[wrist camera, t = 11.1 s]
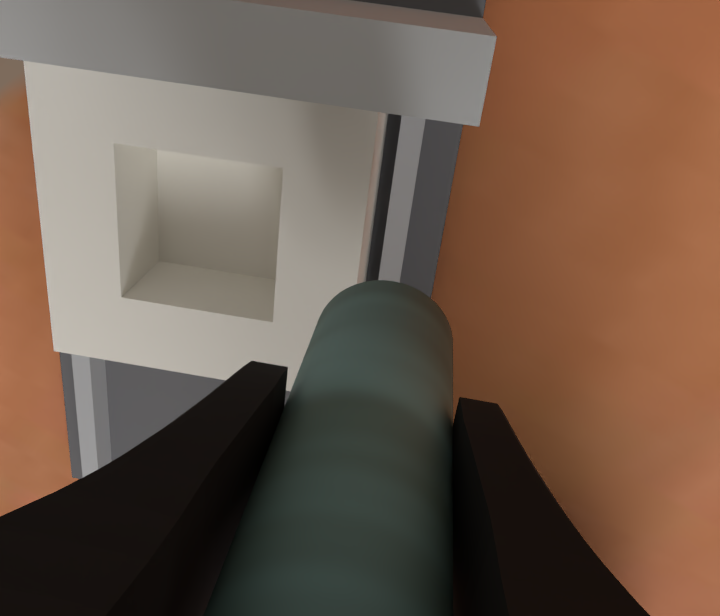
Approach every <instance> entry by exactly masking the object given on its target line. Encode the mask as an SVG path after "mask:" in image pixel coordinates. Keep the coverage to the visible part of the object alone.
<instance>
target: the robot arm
mask: <svg viewBox="0 0 720 616" xmlns="http://www.w3.org/2000/svg"><path fill="white" fill-rule="evenodd" d="M287 372H288V367H285V366H279V365H274V364H268V363H262V362H257V361H250V362H249V363H247V364H246V365H244V366H243V367H242V368H241V369H239V370H238V371H237V372H236V373H234V374H233V375H232V376H231V377H229V378H228V379H227V380H226V381H225V382H223V383H222V384H221V385H220V386H218V387H217V388H216V389H215V390H213V391H212V392H211V393H209V394H208V395H207V396H206V397H204V398H203V399H202V400H201V401H199V402H198V403H197V404H195V405H194V406H193V407H191V408H190V409H188V410H187V411H186V412H184V413H183V414H182V415H180V416H179V417H178V418H176V419H175V420H174V421H172V422H171V423H170V424H168V425H167V426H165V427H164V428H162V429H161V430H160V431H158V432H156V433H155V434H153V435H152V436H150V437H149V438H147V439H146V440H144V441H143V442H141V443H140V444H138V445H137V446H135V447H134V448H132V449H131V450H129V451H128V452H126V453H125V454H123V455H121V456H120V457H118V458H117V459H115V460H113V461H112V462H110V463H108V464H107V465H105V466H103V467H101V468H100V469H98V470H96V471H94V472H92V473H90V474H88V475H87V476H85V477H83V478H81V479H79V480H77V481H75V482H73V483H72V484H70V485H68V486H66V487H64V488H62V489H60V490H58V491H56V492H54V493H52V494H49V495H47V496H45V497H43V498H41V499H38V500H36V501H34V502H32V503H29V504H27V505H25V506H23V507H21V508H18V509H16V510H14V511H12V512H9V513H7V514H5V515H3V516H1V517H0V616H203V615H204V612H205V610H206V607H207V604H208V602H209V599H210V597H211V594H212V592H213V589H214V586H215V584H216V581H217V579H218V576H219V574H220V571H221V568H222V566H223V563H224V561H225V558H226V556H227V553H228V551H229V548H230V545H231V543H232V540H233V538H234V535H235V533H236V530H237V527H238V525H239V522H240V520H241V517H242V515H243V512H244V509H245V507H246V504H247V502H248V499H249V497H250V494H251V492H252V489H253V486H254V484H255V481H256V479H257V476H258V474H259V471H260V468H261V466H262V463H263V461H264V458H265V456H266V453H267V450H268V448H269V445H270V443H271V440H272V438H273V435H274V433H275V430H276V427H277V425H278V422H279V420H280V417H281V415H282V412H283V409H284V405H285V394H286V383H287ZM453 616H650V615H649V614H648V613H647V612H646V611H645V610H644V609H643V608H642V607H641V606H640V605H639V604H638V603H637V601H636V600H635V599H634V598H633V597H632V596H631V595H630V594H629V592H628V591H627V590H626V589H625V588H624V587H623V586H622V584H621V583H620V582H619V581H618V580H617V579H616V578H615V576H614V575H613V574H612V573H611V572H610V571H609V570H608V568H607V567H606V566H605V565H604V564H603V563H602V562H601V560H600V559H599V558H598V557H597V555H596V554H595V553H594V552H593V550H592V549H591V548H590V547H589V545H588V544H587V543H586V542H585V540H584V539H583V537H582V536H581V535H580V533H579V532H578V531H577V529H576V528H575V527H574V525H573V524H572V523H571V521H570V520H569V518H568V517H567V516H566V514H565V513H564V511H563V510H562V508H561V507H560V506H559V504H558V503H557V501H556V500H555V498H554V497H553V495H552V493H551V492H550V490H549V489H548V487H547V486H546V484H545V483H544V481H543V480H542V478H541V477H540V475H539V473H538V472H537V470H536V469H535V467H534V465H533V464H532V462H531V460H530V459H529V457H528V455H527V454H526V452H525V450H524V449H523V447H522V445H521V443H520V442H519V440H518V438H517V436H516V435H515V433H514V431H513V429H512V428H511V426H510V424H509V422H508V420H507V418H506V417H505V415H504V413H503V411H502V410H501V408H500V407H499V405H498V404H496V403H490V402H484V401H479V400H473V399H467V398H461V397H460V398H459V402H458V406H457V410H456V415H455V419H454V423H453Z"/></svg>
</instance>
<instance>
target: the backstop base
mask: <svg viewBox="0 0 720 616" xmlns="http://www.w3.org/2000/svg"><path fill="white" fill-rule="evenodd" d="M485 2H486V0H0V57H2V58H8V59H15V60H22V61H29V62H36V63H43V64H50V65H57V66H63V67H70V68H77V69H84V70H91V71H98V72H105V73H112V74H119V75H126V76H133V77H139V78H146V79H153V80H160V81H167V82H174V83H181V84H188V85H195V86H202V87H209V88H215V89H222V90H229V91H236V92H243V93H250V94H257V95H264V96H271V97H278V98H285V99H291V100H298V101H305V102H312V103H319V104H326V105H333V106H340V107H347V108H354V109H361V110H367V111H374V112H381V113H388V120H387V128H386V135H385V143H384V150H383V158H382V165H381V173H380V180H379V187H378V195H377V202H376V210H375V217H374V225H373V232H372V240H371V247H370V255H369V262H368V270H367V277H366V281H374V280H387V281H395V282H399V283H403V284H406V285H409V286H412V287H414V288H416V289H418V290H420V291H421V292H423V293H424V294H426V295H427V296H428V297H430V298H431V295H432V289H433V284H434V278H435V273H436V268H437V262H438V257H439V251H440V246H441V240H442V235H443V230H444V224H445V219H446V213H447V208H448V203H449V197H450V192H451V186H452V181H453V176H454V170H455V165H456V159H457V154H458V149H459V143H460V138H461V132H462V127H463V124H464V125H471V126H478V127H479V125H480V120H481V115H482V110H483V104H484V99H485V94H486V89H487V84H488V79H489V74H490V69H491V64H492V58H493V53H494V48H495V43H496V38H497V36H496V35H495V34H494V32H493V31H492V30H491V28H490V27H489V26H488V24H487V23H486V22H485V20H484V19H483V13H484V8H485ZM60 361H61V371H62V381H63V391H64V401H65V411H66V421H67V430H68V440H69V450H70V460H71V470H72V477H73V478H78V479H81V478H83V477H85V476H87V475H88V474H90V473H92V472H94V471H96V470H98V469H100V468H101V467H103V466H105V465H107V464H108V463H110V462H112V461H113V460H115V459H117V458H118V457H120V456H121V455H123V454H125V453H126V452H128V451H129V450H131V449H132V448H134V447H135V446H137V445H138V444H140V443H141V442H143V441H144V440H146V439H147V438H149V437H150V436H152V435H153V434H155V433H156V432H158V431H160V430H161V429H162V428H164V427H165V426H167V425H168V424H170V423H171V422H172V421H174V420H175V419H176V418H178V417H179V416H180V415H182V414H183V413H184V412H186V411H187V410H188V409H190V408H191V407H193V406H194V405H195V404H197V403H198V402H199V401H201V400H202V399H203V398H204V397H206V396H207V395H208V394H209V393H211V392H212V391H213V390H215V389H216V388H217V387H218V386H220V385H221V384H222V383H223V382H225V381H226V380H221V379H215V378H209V377H203V376H197V375H191V374H185V373H180V372H174V371H168V370H162V369H156V368H150V367H144V366H139V365H133V364H127V363H121V362H115V361H109V360H103V359H98V358H92V357H86V356H80V355H74V354H68V353H62V352H60ZM289 394H290V391H286V394H285V404H286V402H287V399H288V397H289ZM284 407H285V405H284Z"/></svg>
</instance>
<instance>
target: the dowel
mask: <svg viewBox="0 0 720 616" xmlns="http://www.w3.org/2000/svg"><path fill="white" fill-rule="evenodd" d="M203 616H453V337H452V331H451V328H450V325H449V322H448V320H447V318H446V316H445V314H444V313H443V311H442V310H441V309H440V307H439V306H438V305H437V304H436V303H435V302H434V301H433V300H432V299H431V298H430V297H428V296H427V295H426V294H424V293H423V292H421V291H420V290H418V289H416V288H414V287H412V286H409V285H406V284H403V283H399V282H395V281H387V280H374V281H366V282H362V283H358V284H355V285H353V286H351V287H348V288H346V289H345V290H343V291H341V292H340V293H338V294H337V295H336V296H335V297H333V299H332V300H331V301H330V302H329V303H328V304H327V305H326V307H325V308H324V309H323V311H322V313H321V315H320V317H319V320H318V322H317V325H316V327H315V330H314V332H313V335H312V338H311V340H310V343H309V345H308V348H307V350H306V353H305V356H304V358H303V361H302V363H301V366H300V368H299V371H298V374H297V376H296V379H295V381H294V384H293V386H292V389H291V391H290V394H289V397H288V399H287V402H286V404H285V407H284V409H283V412H282V415H281V417H280V420H279V422H278V425H277V427H276V430H275V433H274V435H273V438H272V440H271V443H270V445H269V448H268V450H267V453H266V456H265V458H264V461H263V463H262V466H261V468H260V471H259V474H258V476H257V479H256V481H255V484H254V486H253V489H252V492H251V494H250V497H249V499H248V502H247V504H246V507H245V509H244V512H243V515H242V517H241V520H240V522H239V525H238V527H237V530H236V533H235V535H234V538H233V540H232V543H231V545H230V548H229V551H228V553H227V556H226V558H225V561H224V563H223V566H222V568H221V571H220V574H219V576H218V579H217V581H216V584H215V586H214V589H213V592H212V594H211V597H210V599H209V602H208V604H207V607H206V610H205V612H204V615H203Z"/></svg>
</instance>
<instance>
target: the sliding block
mask: <svg viewBox="0 0 720 616" xmlns="http://www.w3.org/2000/svg"><path fill="white" fill-rule="evenodd" d="M23 62H24V72H25V81H26V91H27V100H28V110H29V119H30V129H31V138H32V148H33V157H34V167H35V176H36V186H37V195H38V205H39V214H40V224H41V233H42V243H43V252H44V262H45V271H46V281H47V290H48V300H49V309H50V319H51V328H52V338H53V347H54V351H57V352H62V353H68V354H74V355H80V356H86V357H92V358H98V359H103V360H109V361H115V362H121V363H127V364H133V365H139V366H144V367H150V368H156V369H162V370H168V371H174V372H180V373H185V374H191V375H197V376H203V377H209V378H215V379H221V380H227V379H228V378H229V377H231V376H232V375H233V374H234V373H236V372H237V371H238V370H239V369H241V368H242V367H243V366H244V365H246V364H247V363H249V362H250V361H257V362H262V363H268V364H274V365H279V366H285V367H288V372H287V383H286V391H291V389H292V386H293V384H294V381H295V379H296V376H297V374H298V371H299V368H300V366H301V363H302V361H303V358H304V356H305V353H306V350H307V348H308V345H309V343H310V340H311V338H312V335H313V332H314V330H315V327H316V325H317V322H318V320H319V317H320V315H321V313H322V311H323V309H324V308H325V307H326V305H327V304H328V303H329V302H330V301H331V300H332V299H333V297H335V296H336V295H337V294H338V293H340V292H341V291H343V290H345V289H346V288H348V287H351V286H353V285H355V284H358V283H362V282H366V277H367V270H368V262H369V255H370V247H371V240H372V232H373V225H374V217H375V210H376V202H377V195H378V187H379V180H380V173H381V165H382V158H383V150H384V143H385V135H386V128H387V120H388V113H381V112H374V111H367V110H361V109H354V108H347V107H340V106H333V105H326V104H319V103H312V102H305V101H298V100H291V99H285V98H278V97H271V96H264V95H257V94H250V93H243V92H236V91H229V90H222V89H215V88H209V87H202V86H195V85H188V84H181V83H174V82H167V81H160V80H153V79H146V78H139V77H133V76H126V75H119V74H112V73H105V72H98V71H91V70H84V69H77V68H70V67H63V66H57V65H50V64H43V63H36V62H29V61H23Z"/></svg>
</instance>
